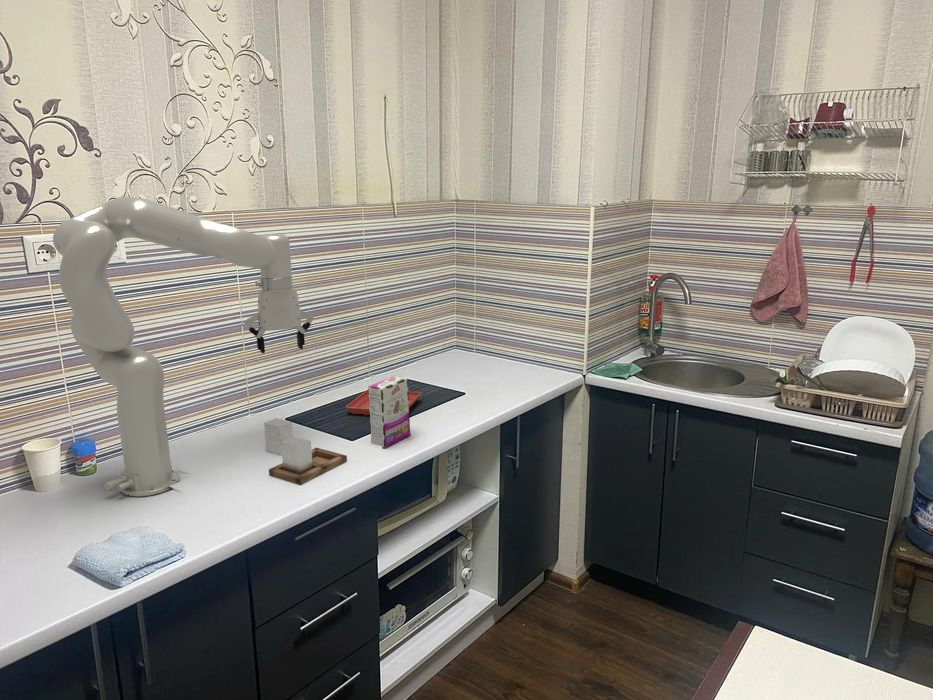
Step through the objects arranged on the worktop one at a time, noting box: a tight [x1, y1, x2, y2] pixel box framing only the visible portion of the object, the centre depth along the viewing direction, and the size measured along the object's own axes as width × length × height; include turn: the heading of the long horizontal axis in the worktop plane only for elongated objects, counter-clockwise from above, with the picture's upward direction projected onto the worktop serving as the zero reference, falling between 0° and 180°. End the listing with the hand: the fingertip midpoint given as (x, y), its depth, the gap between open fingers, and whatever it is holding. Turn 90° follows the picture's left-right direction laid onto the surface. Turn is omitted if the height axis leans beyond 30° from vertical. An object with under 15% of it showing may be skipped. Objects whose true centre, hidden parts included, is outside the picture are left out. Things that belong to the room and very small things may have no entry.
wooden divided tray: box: [268, 447, 348, 486], centre depth 162 cm, size 16×10×2 cm, turn 148°
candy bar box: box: [367, 375, 411, 449], centre depth 180 cm, size 11×5×16 cm, turn 148°
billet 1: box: [263, 417, 293, 457], centre depth 172 cm, size 4×6×8 cm
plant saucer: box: [345, 389, 422, 416], centre depth 207 cm, size 18×18×3 cm
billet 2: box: [281, 436, 313, 475], centre depth 158 cm, size 4×6×8 cm
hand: (281, 350), depth 176 cm, fingers open, 9 cm apart
